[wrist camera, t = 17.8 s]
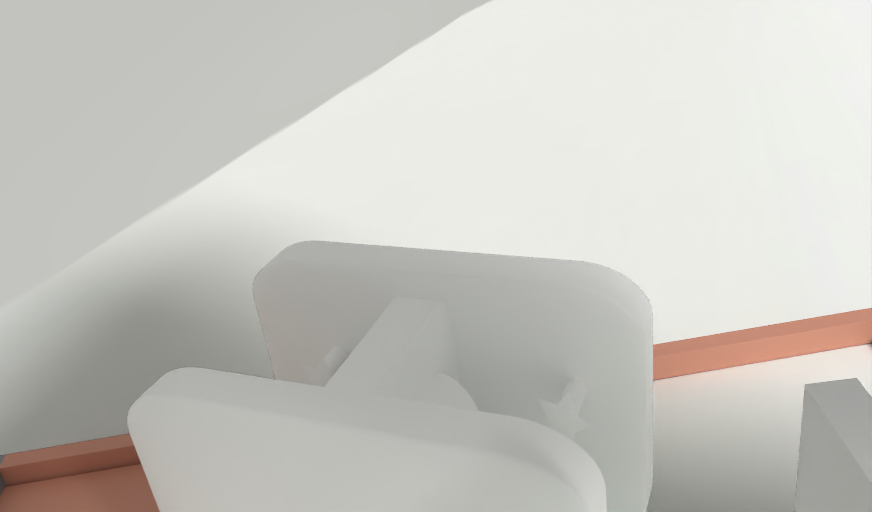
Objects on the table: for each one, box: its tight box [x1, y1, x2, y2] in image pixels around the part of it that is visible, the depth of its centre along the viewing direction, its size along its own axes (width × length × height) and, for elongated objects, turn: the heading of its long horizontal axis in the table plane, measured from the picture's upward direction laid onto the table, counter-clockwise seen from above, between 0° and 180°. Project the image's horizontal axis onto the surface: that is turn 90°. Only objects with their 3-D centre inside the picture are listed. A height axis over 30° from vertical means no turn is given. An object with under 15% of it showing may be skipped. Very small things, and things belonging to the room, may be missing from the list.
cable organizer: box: [127, 241, 653, 512], centre depth 28 cm, size 15×11×12 cm
